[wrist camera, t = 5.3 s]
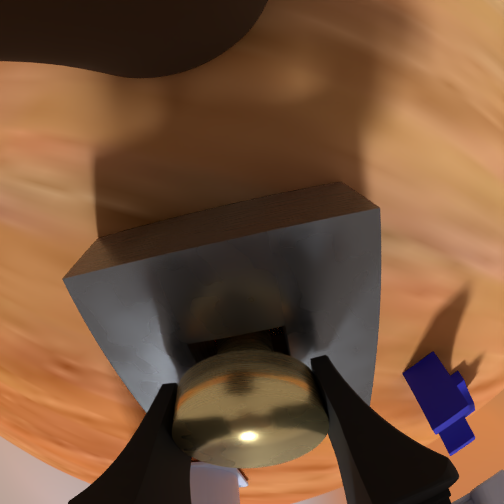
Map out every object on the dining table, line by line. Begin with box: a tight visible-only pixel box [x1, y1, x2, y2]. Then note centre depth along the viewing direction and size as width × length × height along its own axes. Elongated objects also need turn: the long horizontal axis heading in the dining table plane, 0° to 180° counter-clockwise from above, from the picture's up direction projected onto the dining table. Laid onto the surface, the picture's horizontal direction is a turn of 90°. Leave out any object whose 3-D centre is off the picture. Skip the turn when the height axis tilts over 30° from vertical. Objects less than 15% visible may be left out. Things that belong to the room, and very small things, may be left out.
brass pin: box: [172, 329, 329, 468], centre depth 12 cm, size 6×6×6 cm
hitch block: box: [63, 182, 381, 413], centre depth 14 cm, size 12×12×4 cm
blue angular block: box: [402, 352, 475, 456], centre depth 19 cm, size 12×4×6 cm, turn 39°
